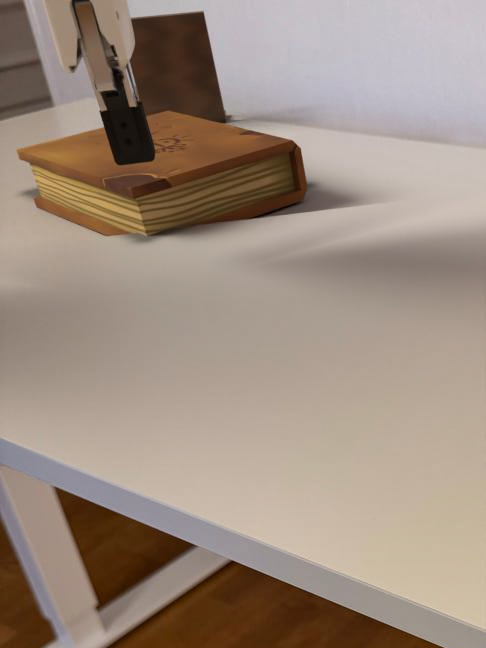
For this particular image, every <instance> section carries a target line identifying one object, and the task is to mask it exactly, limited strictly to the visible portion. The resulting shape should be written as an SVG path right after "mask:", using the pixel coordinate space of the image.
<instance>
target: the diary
mask: <svg viewBox="0 0 486 648" xmlns="http://www.w3.org/2000/svg"><path fill="white" fill-rule="evenodd" d="M146 118H147V121H148V125H149V129H150V132H151V136H152V140H153V143H154V147H155V150H156V153H155V159H154V160H153V161H151V162H144V163H136V164H129V165H117V164H116V163H115V161H114V157H113V154H112V151H111V148H110V144H109V141H108V138H107V135H106V131H105V128H104V126H102V127H99V128H95V129H91V130H88V131H83V132H80V133H76V134H72V135H68V136H64V137H60V138H56V139H52V140H49V141H44V142H40V143H36V144H33V145H28V146H25V147H20V148H17V149H16V150H15V151H16V153H17V156H18V159H19V160H20V161H23V162H25V163H29V166H30V169H31V172H32V175H33V177H34V180H35V183H36V186H37V189H38V192H39V194H40V195H39V196H35V197H33V202H34V204H35V207H36V208H38V209H41V210H42V211H45V212H48V213H50V214H53V215H55V216H57V217H60V218H62V219H65V220H67V221H70V222H73V223H74V224H77V225H80V226H82V227H85V228H87V229H90V230H92V231H94V232H97V233H100V234H102V235H104V236H107V237H112V236H123V235H130V234H137V233H138V234H141V235H142V236H146V237H148V236H151V235H154V234H157V233H160V232H163V231H166V230H170V229H171V230H172V229H178V228H180V229H181V228H187V227H195V226H205V225H213V224H220V223H221V224H222V223H228V222H237V221H246V220H248V219H251V218H254V217H257V216H260V215H264V214H266V213H269V212H273V211H275V210H278V209H281V208H283V207H284V208H285V207H287V206H290V205H293V204H295V203H299V202H302V201H304V200H305V196H306V194H307V192H308V182H307V177H306V170H305V164H304V160H303V159H304V158H303V153H302V148H301V147H300V146H299V145H298V144H297V142H295V141H294V140H293V139H289V138H285V137H281V136H277V135H274V134H273V135H272V134H269V133H265V132H260V131H256V130H251V129H247V128H242V127H239V126H236V125H230V124H227V123H218V122H214V121H210V120H206V119H201V118H197V117H193V116H189V115H185V114H180V113H176V112H172V111H165V112H161V113H157V114H153V115H149V116H146Z"/></svg>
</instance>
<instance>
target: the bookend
mask: <svg viewBox="0 0 486 648" xmlns="http://www.w3.org/2000/svg"><path fill="white" fill-rule="evenodd" d="M130 18H131V22H132V27H133V32H134V38H135V46H134V50H133V53H132V56H131V58H130V60H129V61H130V65H131V69H132V73H133V76H134V80H135V84H136V88H137V92H138V96H139V101H136V102H141V101H142V103H143V107H144V111H145V114H146V116H149V115H153V114H157V113H161V112H165V111H172V112H176V113H180V114H185V115H189V116H193V117H197V118H201V119H206V120H210V121H214V122H218V123H222V124H227V111H226V110H225V107H224V101H223V96H222V91H221V86H220V83H219V78H218V72H217V68H216V67H217V66H216V63H215V58H214V53H213V48H212V44H211V39H210V34H209V29H208V25H207V19H206V15H205V11H204V10H199V11H197V10H196V11H189V12H187V11H186V12H178V13H168V14H166V13H165V14H157V15H156V14H155V15H146V16H136V17H130Z"/></svg>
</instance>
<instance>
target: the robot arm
mask: <svg viewBox="0 0 486 648" xmlns="http://www.w3.org/2000/svg"><path fill="white" fill-rule="evenodd" d="M41 1H42V5H43V8H44V12H45V15H46V18H47V22H48V25H49V29H50V33H51V35H52V36H51V37H52V40H53V43H54V46H55V50H56V54H57V57H58V60H59V64H60V66H61V68H62V69H63V70H64V71H65V72H67V73H68V74H74V73H75V72H76V71H77V69H78V67H79V65H80V63H81V61H82V59H83V62H84V64H85V68H86V71H87V74H88V77H89V80H90V83H91V86H92V88H93V92H94V95H95V98H96V101H97V104H98V108H99V114H100V118H101V121H102V124H103V127H104V128H105V131H106V135H107V138H108V141H109V144H110V148H111V151H112V154H113V157H114V161H115V163H116V164H117V165H129V164H136V163H144V162H151V161H153V160H154V159H155V153H156V150H155V147H154V143H153V140H152V136H151V132H150V129H149V125H148V121H147V118H146V114H145V111H144V107H143V103H142V101H141V102H136V101H139V96H138V92H137V88H136V84H135V80H134V76H133V73H132V69H131V65H130V61H129V60H130V58H131V56H132V53H133V50H134V46H135V38H134V32H133V27H132V22H131V18H132V17H131V13H130V9H129V5H128V2H127V1H128V0H41Z"/></svg>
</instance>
